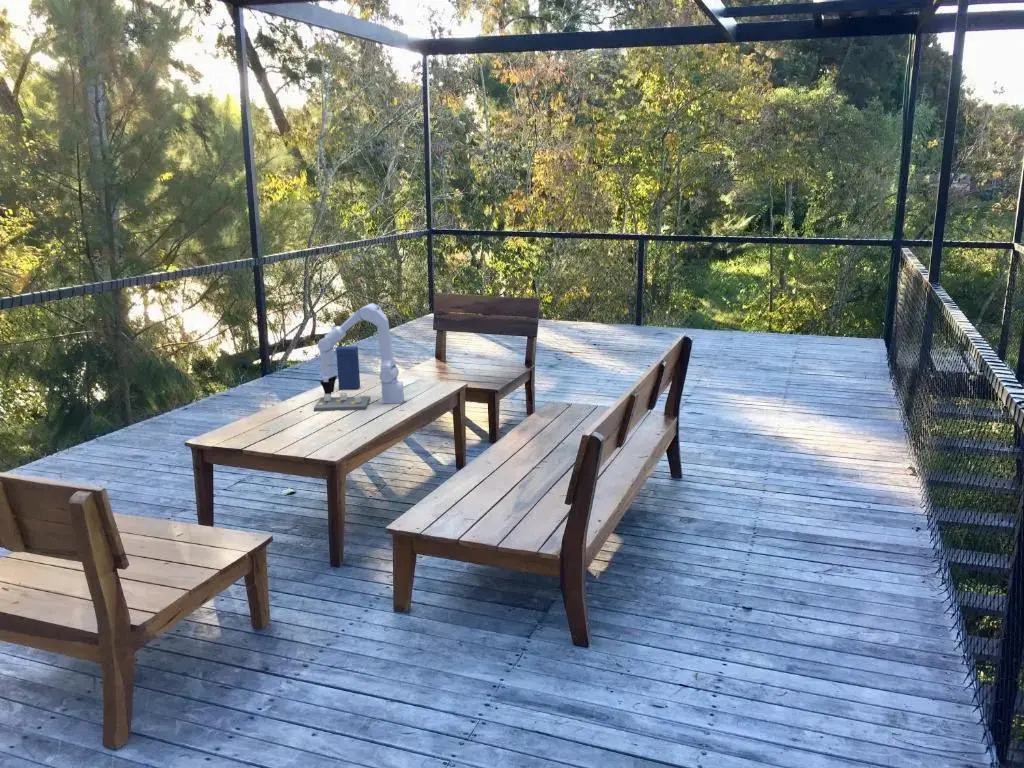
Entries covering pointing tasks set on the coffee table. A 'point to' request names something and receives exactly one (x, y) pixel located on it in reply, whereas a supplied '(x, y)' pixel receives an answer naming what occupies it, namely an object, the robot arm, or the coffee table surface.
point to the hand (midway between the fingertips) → (329, 394)
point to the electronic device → (348, 367)
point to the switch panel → (342, 404)
